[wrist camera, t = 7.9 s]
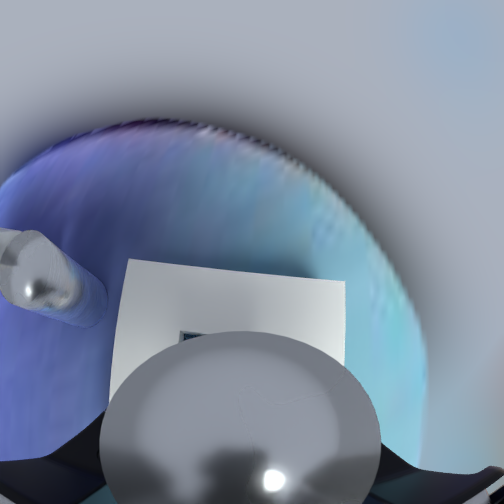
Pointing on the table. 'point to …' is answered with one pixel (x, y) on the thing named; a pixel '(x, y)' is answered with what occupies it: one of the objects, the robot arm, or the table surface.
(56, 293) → the short pin
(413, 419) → the table surface
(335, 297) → the hole board
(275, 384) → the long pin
